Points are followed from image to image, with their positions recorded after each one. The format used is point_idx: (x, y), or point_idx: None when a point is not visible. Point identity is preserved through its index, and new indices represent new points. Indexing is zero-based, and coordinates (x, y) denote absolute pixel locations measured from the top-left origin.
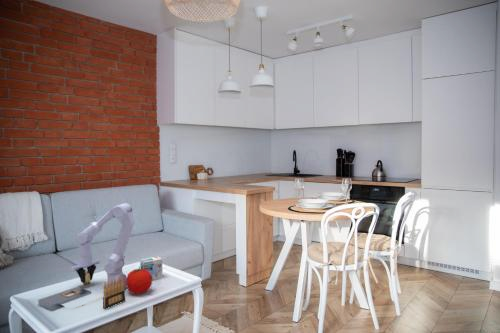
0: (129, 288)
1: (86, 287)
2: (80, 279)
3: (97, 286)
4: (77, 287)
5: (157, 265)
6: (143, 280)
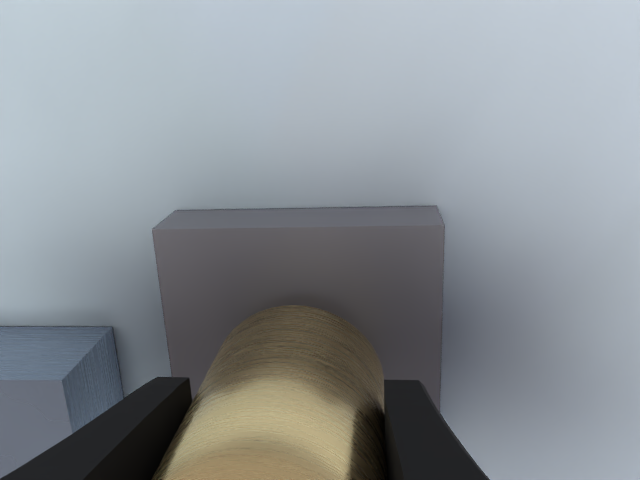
0: None
1: None
2: (105, 414)
3: (503, 398)
4: (45, 418)
5: None
6: None
